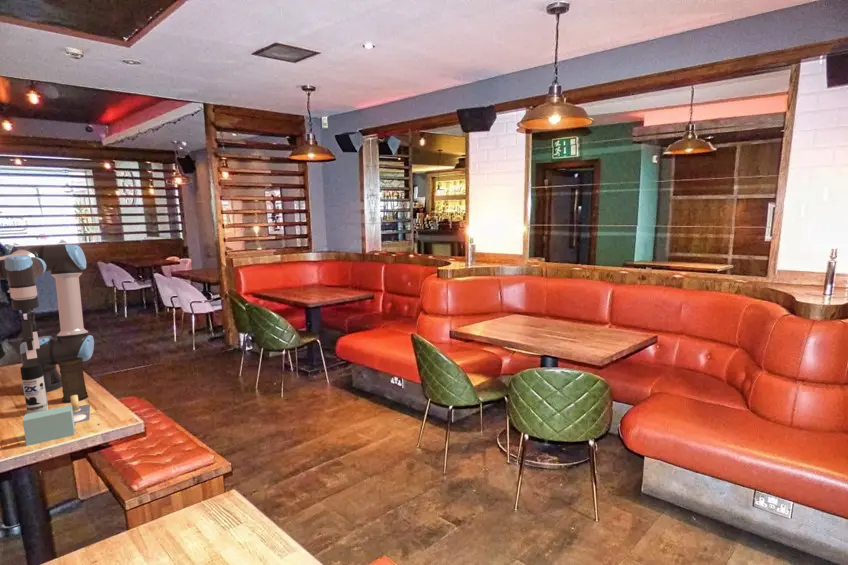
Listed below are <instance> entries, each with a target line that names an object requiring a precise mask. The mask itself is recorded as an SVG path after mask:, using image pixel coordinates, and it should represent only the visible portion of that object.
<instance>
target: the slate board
mask: <svg viewBox="0 0 848 565" xmlns="http://www.w3.org/2000/svg"><path fill="white" fill-rule="evenodd" d="M70 399H71V403H70V405H72V410H73V417H74V424H77V423H81V422H86V421H90V416H91V415H90V413H91V412H90V410H91V409H90V408H91V407H90V406H91V404H90V403H89V404H88V403H87V404H85V405H80V401H78V395H72V396H70Z"/></svg>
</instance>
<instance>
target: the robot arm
mask: <svg viewBox="0 0 848 565" xmlns="http://www.w3.org/2000/svg"><path fill="white" fill-rule="evenodd" d="M86 258H87V257H86V255H85V252H84V250H83V249H82V247H81V246H79V245H78V244H55V245H52V244H51V245H36V246H35V245H34V246H31V247H27V248H22V249H18V250H16V251H13V252H12V253H11V254H8V255H2V256H0V280H7V282H8V283H7V284H8V290H7V293H9V295H10V299H11V307H12V310H13V311H20V312H21V313H20V314H19V319H20V324H21V328H22V338H23V339H21V343H20V346H19V351H20V353H19V354H20V358H21V364H22V366H23V365H26V364H31V363H41V364H42V370H43V376H44V382H45V389H46V393H47V392H52V391H54V390H57V389H60V388H61V387H62V381H61V374H60V371H59V370H58V369H57V365H58V362H59V361H60V360H63V359H67V358H73V357H81V358H82V359H83V361H82V362H86V361H89V360H90V359H91V358H92V356H93V353H94V349H95V339H94V336H93V335H90V334H89V331H88V330H86V329H85V327H84V317H83V307H82V298H81V297H82V295H81V288H80V286H81V285H80V277H81V276H82V274H83V270H85V269H87V259H86ZM45 272H50V276H51V277H52V278H53V279H55V288H56V295H57V297H56V298H57V307H58V308H57V309H58V315H59V316H58V317H59V318H58V319H59V327H60V331H59V332H58V333H57V334H56V338H53V337H52V335H43V336H38V332H39V331H40V328H39V327H37V326H38V325H37V322H36V317H35V316H36V315H35V311H34V309H37V308H39V306H40V303H39V298H38V297H37V296H38V290H37V284H36V279H35V278H38V277H40V276H42V275H43V274H44V273H45ZM22 366H21V367H22ZM20 392H21V394H23V395H24V390H23V384H22V383H21V385H20Z"/></svg>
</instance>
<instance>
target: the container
mask: <svg viewBox="0 0 848 565" xmlns="http://www.w3.org/2000/svg"><path fill="white" fill-rule="evenodd" d="M83 362H84V361H83V359H82V358H81V357H73V358H67V359H63V360H60V361H59V362H58V364H57V366H58V367H59V374H60V375H61V381H62V386H61V387H62V395H63V396H62V403H64V404H71V399H70V396H72V395H78V401H79V402H82V401H84V400H86V399H88V398H89V395H88V394H89V392H88V391H87V386H86V382H85V381H86V380H85V375H84V367H83Z"/></svg>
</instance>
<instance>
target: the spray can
mask: <svg viewBox="0 0 848 565" xmlns="http://www.w3.org/2000/svg"><path fill="white" fill-rule="evenodd" d="M19 369H20V370H19V371H20V375H21V385H22V384H23V390H24V394H23V395H24V401H25V402H24V403H25V407H26V408H25V409H26V414H29V413H34V412H39V411H44V410H49V402H48V396H47V392H46V389H45V382H44V376H43V370H42V364H41V363H31V364H26V365H23V366H20V367H19Z"/></svg>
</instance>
